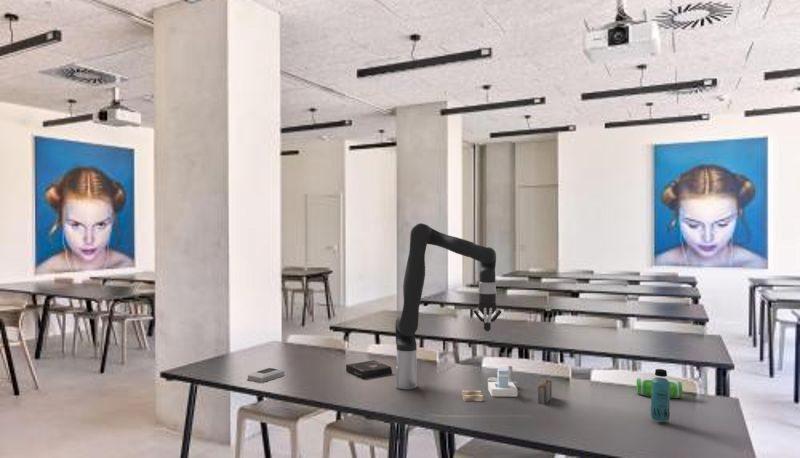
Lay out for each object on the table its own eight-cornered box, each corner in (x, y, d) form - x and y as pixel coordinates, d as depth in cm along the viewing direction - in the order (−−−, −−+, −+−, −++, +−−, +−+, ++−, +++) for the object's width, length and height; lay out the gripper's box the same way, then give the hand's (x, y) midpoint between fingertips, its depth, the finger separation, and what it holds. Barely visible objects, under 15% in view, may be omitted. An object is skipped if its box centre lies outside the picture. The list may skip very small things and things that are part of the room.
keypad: (247, 372, 268) (270, 366, 281) (247, 380, 268) (270, 373, 281) (262, 375, 263) (284, 368, 276) (262, 383, 263) (284, 376, 276)
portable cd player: (392, 374, 280) (392, 366, 279) (362, 380, 270) (362, 371, 270) (374, 367, 293) (374, 360, 293) (346, 372, 284) (346, 364, 284)
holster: (463, 403, 234) (463, 396, 234) (461, 397, 242) (461, 390, 242) (482, 403, 234) (482, 396, 234) (480, 397, 242) (480, 390, 242)
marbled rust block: (545, 405, 232) (545, 382, 232) (538, 404, 234) (538, 381, 234) (552, 398, 242) (552, 375, 242) (545, 397, 244) (545, 374, 243)
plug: (498, 393, 243) (498, 370, 243) (497, 391, 248) (497, 368, 247) (508, 393, 243) (508, 370, 243) (506, 391, 247) (506, 368, 247)
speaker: (679, 395, 245) (679, 378, 245) (682, 400, 238) (682, 383, 238) (636, 392, 250) (636, 375, 250) (637, 396, 243) (637, 379, 243)
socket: (491, 398, 240) (491, 389, 240) (487, 390, 251) (488, 382, 251) (517, 398, 240) (517, 389, 240) (512, 391, 251) (512, 382, 251)
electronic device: (491, 361, 267) (518, 366, 256) (492, 382, 267) (519, 387, 256) (485, 363, 263) (512, 368, 253) (485, 384, 263) (512, 390, 252)
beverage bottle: (647, 419, 214) (647, 367, 214) (664, 419, 215) (664, 367, 215) (656, 425, 208) (656, 372, 208) (673, 425, 209) (674, 371, 208)
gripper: (473, 293, 247) (473, 332, 247) (503, 293, 246) (503, 332, 246) (471, 291, 254) (471, 329, 254) (500, 291, 254) (500, 329, 254)
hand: (487, 330), depth 250 cm, fingers closed
